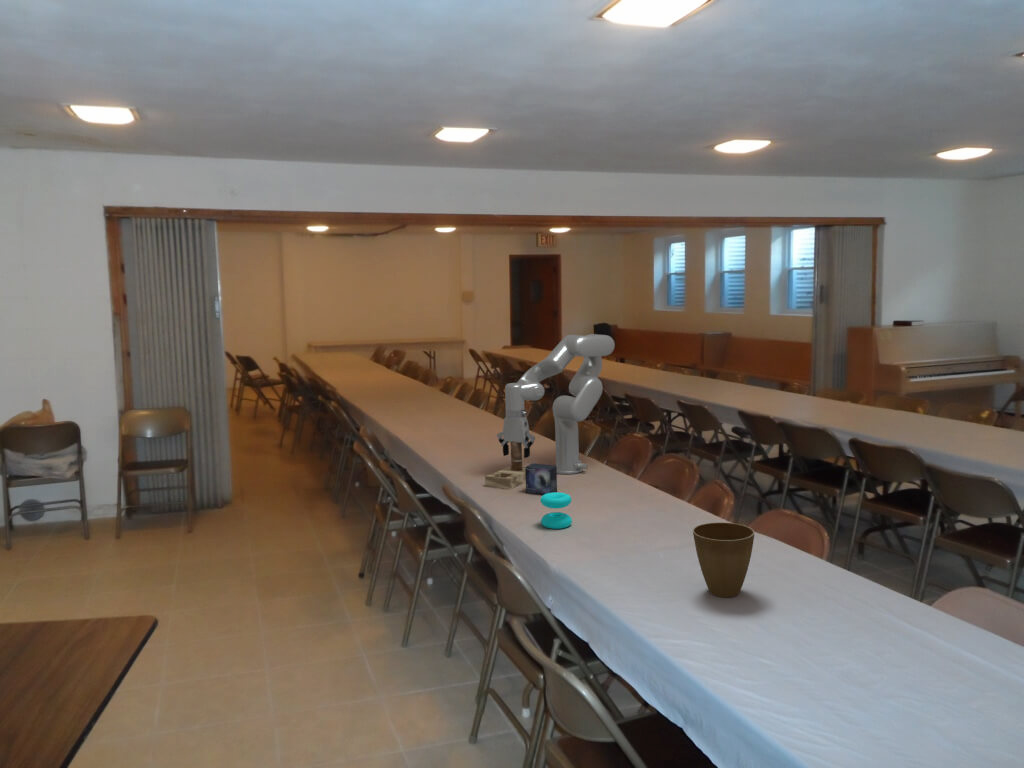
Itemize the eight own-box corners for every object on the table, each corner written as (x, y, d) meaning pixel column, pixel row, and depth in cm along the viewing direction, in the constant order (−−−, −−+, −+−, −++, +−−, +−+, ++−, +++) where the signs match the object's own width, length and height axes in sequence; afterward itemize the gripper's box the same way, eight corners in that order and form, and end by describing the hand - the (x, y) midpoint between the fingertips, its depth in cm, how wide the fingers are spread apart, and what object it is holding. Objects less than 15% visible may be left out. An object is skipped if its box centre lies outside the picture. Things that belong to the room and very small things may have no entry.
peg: (524, 469, 324) (523, 439, 323) (518, 471, 320) (517, 441, 319) (514, 467, 327) (514, 438, 325) (509, 470, 323) (508, 440, 321)
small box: (525, 493, 302) (524, 466, 301) (532, 489, 308) (531, 462, 306) (550, 496, 297) (549, 468, 296) (557, 492, 303) (557, 465, 301)
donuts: (565, 490, 267) (575, 497, 257) (565, 519, 268) (576, 527, 259) (536, 493, 264) (545, 500, 255) (537, 522, 265) (546, 531, 256)
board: (511, 475, 331) (511, 465, 331) (535, 477, 325) (534, 468, 325) (485, 486, 314) (485, 476, 314) (509, 489, 308) (509, 479, 308)
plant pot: (742, 579, 210) (743, 520, 208) (762, 602, 196) (763, 538, 193) (686, 582, 210) (686, 522, 208) (701, 604, 195) (701, 541, 193)
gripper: (538, 413, 319) (539, 456, 322) (501, 411, 328) (503, 452, 330) (529, 416, 313) (530, 460, 315) (491, 414, 322) (493, 456, 324)
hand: (516, 456), depth 323 cm, fingers open, 9 cm apart
